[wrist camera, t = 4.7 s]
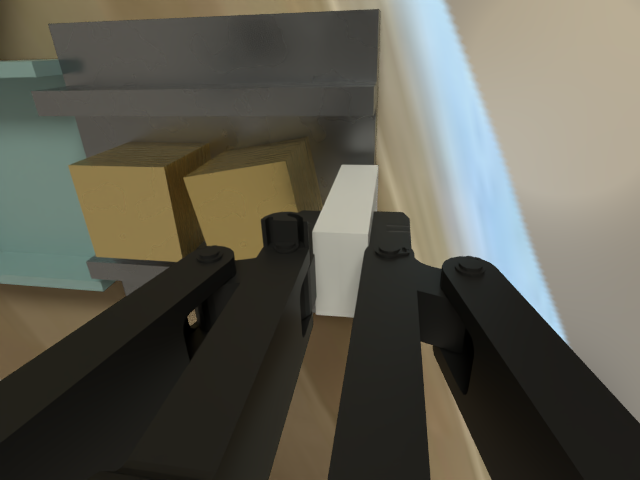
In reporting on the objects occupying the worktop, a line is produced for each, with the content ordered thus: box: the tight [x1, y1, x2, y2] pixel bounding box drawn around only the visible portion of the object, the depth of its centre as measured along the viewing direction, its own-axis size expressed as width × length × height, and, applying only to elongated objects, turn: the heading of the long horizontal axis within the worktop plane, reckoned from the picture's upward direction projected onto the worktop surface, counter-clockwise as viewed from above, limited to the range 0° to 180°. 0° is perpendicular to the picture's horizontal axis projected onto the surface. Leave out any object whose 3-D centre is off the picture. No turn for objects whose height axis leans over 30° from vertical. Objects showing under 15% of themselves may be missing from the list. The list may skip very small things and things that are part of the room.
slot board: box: [31, 9, 380, 313], centre depth 19 cm, size 14×14×4 cm
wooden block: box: [68, 142, 211, 262], centre depth 18 cm, size 4×4×4 cm
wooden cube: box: [183, 137, 323, 260], centre depth 17 cm, size 4×4×4 cm
